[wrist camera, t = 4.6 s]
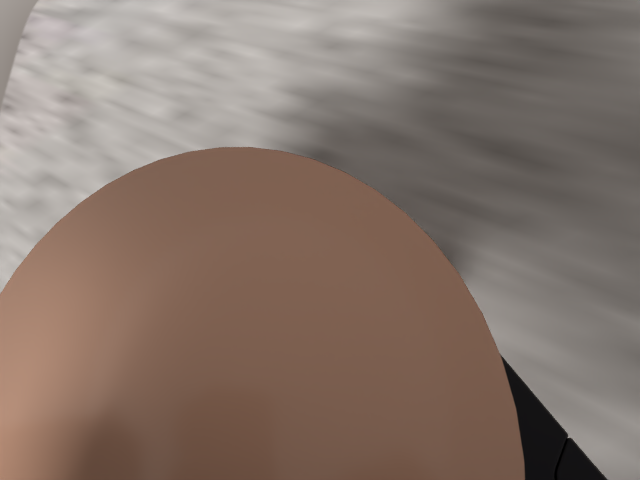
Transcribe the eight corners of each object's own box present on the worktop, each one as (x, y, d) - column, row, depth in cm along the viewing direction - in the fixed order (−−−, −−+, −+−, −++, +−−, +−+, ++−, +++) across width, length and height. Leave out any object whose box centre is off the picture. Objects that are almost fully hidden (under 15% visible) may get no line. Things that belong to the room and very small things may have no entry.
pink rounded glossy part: (436, 407, 13) (679, 860, 2) (293, 434, 14) (-91, 873, 3) (393, 263, 15) (401, 79, 4) (268, 295, 16) (-38, 225, 5)
